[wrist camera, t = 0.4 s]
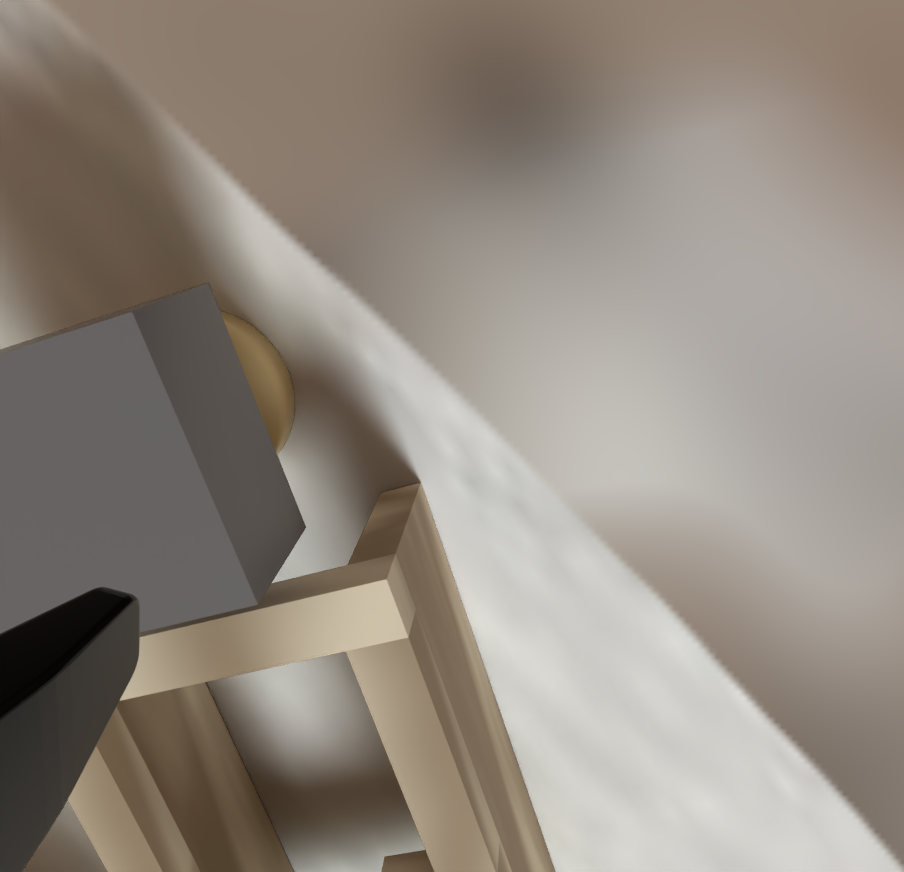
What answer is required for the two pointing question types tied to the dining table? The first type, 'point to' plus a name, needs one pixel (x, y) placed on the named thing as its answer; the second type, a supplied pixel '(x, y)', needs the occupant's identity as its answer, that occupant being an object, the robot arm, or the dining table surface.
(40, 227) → the dining table surface
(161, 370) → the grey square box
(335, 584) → the keyhole board
